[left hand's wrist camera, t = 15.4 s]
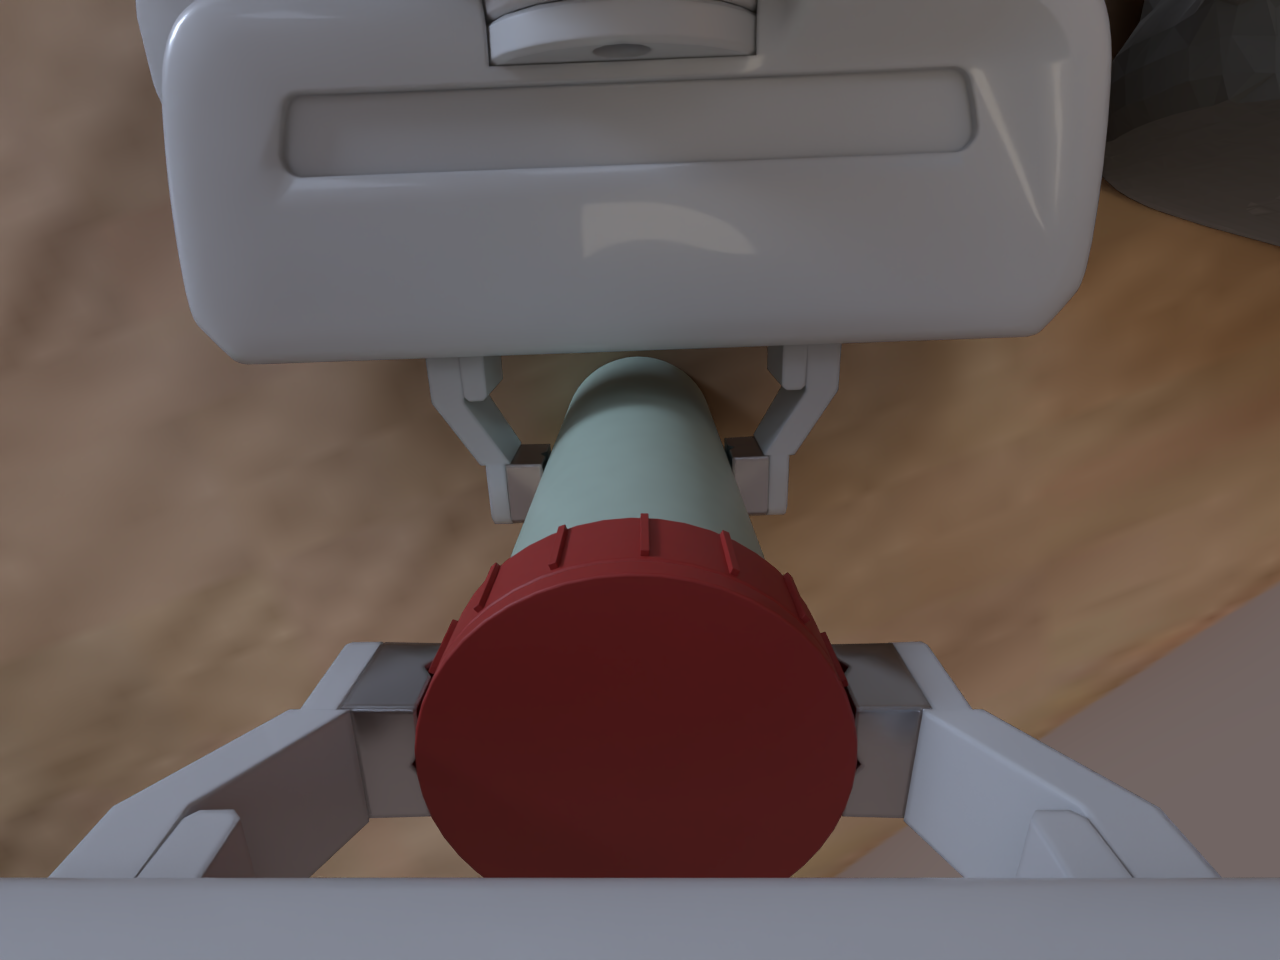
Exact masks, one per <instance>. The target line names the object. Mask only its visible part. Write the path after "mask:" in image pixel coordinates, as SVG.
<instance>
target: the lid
mask: <svg viewBox="0 0 1280 960" xmlns="http://www.w3.org/2000/svg"><path fill="white" fill-rule="evenodd" d="M428 672H429V673H432V674H434V675H433V678H432V680H431V682H430V685H429V687H428V689H427V692H426V694H425V696H424V699H423V701H422V704H421V708H420V712H419V716H418V720H417V725H416V735H415V749H414V750H415V761H416V771H417V777H418V781H419V784H420V788H421V792H422V796H423V798H424V801H425V803H426V805H427V808H428V810H429V812H430V815H431V817H432V819H433V820H434V822H435V824H436V825H437V827H438V828H439V830H440V832H441V833H442V835H443V836H444V838H445V839H446V840H447V842H448V843H449V844H450V845H451V846H452V848H453V849H454V850H455V851H456V852H457V854H458V855H459V856H460V857H461V858H462V859H463V860H464V861H465V862H466V863H468V864H469V865H470V866H471V867H472V868H473V869H474V870H475V871H476V872H477V873H479V874H480V875H481V876H483V877H484V878H789V877H790V876H792V875H793V874H794V873H795V872H797V871H798V870H799V869H800V868H801V867H803V866H804V865H805V864H806V863H807V862H808V861H809V860H810V859H811V858H812V856H813V855H814V854H815V853H816V852H817V851H818V850H819V849H820V848H821V847H822V845H823V844H824V843H825V841H826V840H827V838H828V837H829V836H830V834H831V833H832V832H833V830H834V829H835V827H836V825H837V823H838V821H839V819H840V817H841V816H842V814H843V812H844V810H845V807H846V805H847V802H848V799H849V796H850V793H851V791H852V788H853V783H854V777H855V772H856V766H857V741H858V740H857V733H856V726H855V719H854V715H853V712H852V709H851V705H850V702H849V699H848V696H847V693H846V691H845V689H844V687H846V686H848V681H847V679H846V676H845V674H844V672H843V670H842V668H841V665H840V663H839V661H838V659H837V657H836V654H835V652H834V650H833V648H832V645H831V643H830V641H829V639H828V637H827V634H826V632H823V633H820V632H819V629H818V627H817V625H816V623H815V621H814V619H813V617H812V615H811V613H810V611H809V609H808V607H807V605H806V604H805V602H804V601H803V599H802V598H801V597H800V594H799V592H798V590H797V587H796V585H795V583H794V580H793V578H792V576H791V575H790V574H789V573H786V574H785V575H784V576H783V575H782V574H781V573H780V572H779V571H778V570H777V569H776V568H775V567H773V566H772V565H771V564H770V563H768V562H767V561H766V560H764V559H763V558H762V557H761V556H759V555H758V554H757V553H755V552H753V551H752V550H750V549H748V548H747V547H745V546H743V545H741V544H740V543H738V542H736V541H735V540H732V539H731V537H730V534H729V532H727V531H724V530H722V532H721V533H720V534H718V533H716V532H713V531H711V530H708V529H704V528H701V527H697V526H694V525H690V524H687V523H682V522H676V521H669V520H663V519H653V518H649V514H648V513H641V516H640V518H621V519H610V520H601V521H597V522H592V523H587V524H582V525H578V526H574V527H571V528H569V529H567V527H566V525H562V526H559V527H558V530H557V533H554V534H551V535H549V536H547V537H545V538H543V539H541V540H539V541H537V542H535V543H533V544H531V545H529V546H527V547H526V548H524V549H523V550H521V551H520V552H518V553H517V554H515V555H514V556H512V557H511V558H509V559H508V560H507V561H505V562H504V563H503V564H502V565H501V566H500V565H498V564H497V563H495V564H494V565H493V566H491V568H490V571H489V573H488V575H487V578H486V580H485V581H484V583H483V584H482V585H481V586H480V587H479V589H478V590H477V591H476V592H475V593H474V595H473V596H472V598H471V600H470V601H469V603H468V604H467V606H466V608H465V609H464V611H463V612H462V614H461V617H460V619H459V621H456V620H452V622H451V624H450V626H449V628H448V630H447V633H446V635H445V637H444V639H443V641H442V643H441V645H440V647H439V649H438V652H437V654H436V656H435V658H434V660H433V662H432V664H431V666H430V669H429V671H428Z"/></svg>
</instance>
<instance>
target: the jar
mask: <svg viewBox="0 0 1280 960" xmlns="http://www.w3.org/2000/svg"><path fill="white" fill-rule="evenodd" d="M641 513H648V514H649V518H653V519H663V520H669V521H676V522H682V523H687V524H690V525H694V526H697V527H701V528H704V529H708V530H711V531H713V532H716V533H718V534H720V533H721V532H722V530H724V531H727V532H729V534H730V537H731V539H732V540H735V541H736V542H738V543H740V544H741V545H743V546H745V547H747V548H748V549H750V550H752V551H753V552H755V553H757V554H758V555H759V556H761V557H762V558H763V559H764V560H765V558H764V556H763V553H762V550H761V548H760V545H759V542H758V540H757V537H756V534H755V531H754V529H753V526H752V523H751V521H750V518H749V515H748V513H747V510H746V507H745V504H744V502H743V499H742V496H741V494H740V491H739V488H738V486H737V483H736V480H735V477H734V475H733V472H732V469H731V467H730V464H729V461H728V459H727V456H726V453H725V450H724V448H723V445H722V442H721V440H720V437H719V434H718V432H717V429H716V426H715V423H714V421H713V418H712V415H711V413H710V410H709V407H708V405H707V402H706V399H705V397H704V395H703V394H702V392H701V390H700V389H699V387H698V386H697V384H696V383H695V382H694V381H693V380H692V379H691V378H690V377H689V376H688V375H687V374H686V373H684V372H683V371H682V370H680V369H679V368H677V367H676V366H674V365H672V364H670V363H667V362H665V361H662V360H659V359H655V358H649V357H628V358H623V359H618V360H615V361H613V362H610V363H607V364H606V365H604V366H602V367H600V368H598V369H597V370H596V371H594V372H593V373H591V374H590V375H589V376H588V377H587V378H586V379H585V380H584V381H583V383H582V384H581V385H580V386H579V388H578V389H577V391H576V392H575V394H574V396H573V398H572V401H571V403H570V405H569V408H568V410H567V413H566V416H565V418H564V421H563V423H562V426H561V428H560V431H559V434H558V436H557V439H556V441H555V444H554V447H553V449H552V452H551V454H550V457H549V459H548V462H547V465H546V467H545V470H544V472H543V475H542V477H541V480H540V483H539V485H538V488H537V490H536V493H535V495H534V498H533V501H532V503H531V506H530V508H529V511H528V513H527V516H526V519H525V521H524V524H523V526H522V529H521V531H520V534H519V537H518V539H517V542H516V544H515V547H514V549H513V552H512V555H511V557H512V556H514V555H515V554H517V553H518V552H520V551H521V550H523V549H524V548H526V547H527V546H529V545H531V544H533V543H535V542H537V541H539V540H541V539H543V538H545V537H547V536H549V535H551V534H554V533H557V530H558V527H559V526H562V525H566V527H567V529H569V528H571V527H574V526H578V525H582V524H587V523H592V522H597V521H601V520H610V519H621V518H640V516H641ZM511 557H510V558H511Z"/></svg>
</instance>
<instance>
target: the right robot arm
mask: <svg viewBox="0 0 1280 960" xmlns="http://www.w3.org/2000/svg"><path fill="white" fill-rule="evenodd" d="M136 11H137V19H138V23H139V27H140V31H141V35H142V39H143V43H144V47H145V51H146V56H147V60H148V64H149V68H150V72H151V76H152V80H153V84H154V86H155V89H156V92H157V94H158V96H159V99H160V101H161V103H162V116H163V129H164V142H165V154H166V165H167V175H168V184H169V192H170V199H171V207H172V214H173V222H174V229H175V235H176V241H177V248H178V254H179V260H180V265H181V270H182V276H183V281H184V286H185V291H186V295H187V299H188V303H189V307H190V310H191V313H192V316H193V318H194V320H195V322H196V323H197V325H198V326H199V327H200V328H201V329H202V330H203V331H204V332H205V333H206V334H207V335H208V336H209V337H210V338H211V339H212V340H213V341H214V342H215V343H216V344H217V345H218V346H219V347H220V348H221V349H222V350H223V351H224V352H225V353H226V354H227V355H229V356H230V357H231V358H232V359H233V360H235V361H236V362H238V363H242V364H281V363H309V362H337V361H365V360H392V359H420V358H425V359H426V366H427V373H428V380H429V387H430V394H431V401H432V404H433V406H434V407H435V408H436V409H437V411H438V412H439V413H440V414H441V416H442V417H443V418H444V420H445V421H446V422H447V423H448V425H449V426H450V427H451V428H452V430H453V431H454V432H455V434H456V435H457V436H458V437H459V439H460V440H461V441H462V442H463V444H464V445H465V446H466V448H467V449H468V450H469V451H470V453H471V454H472V455H473V456H474V458H475V459H476V460H477V462H478V463H479V464H480V465H485V466H486V474H487V482H488V490H489V498H490V506H491V514H492V519H493V521H494V523H495V524H513V523H524V521H525V519H526V516H527V513H528V511H529V508H530V506H531V503H532V501H533V498H534V495H535V493H536V490H537V488H538V485H539V483H540V480H541V477H542V475H543V472H544V470H545V467H546V465H547V462H548V459H549V457H550V454H551V447H550V444H521V441H520V440H519V438H518V437H517V435H516V434H515V433H514V431H513V430H512V428H511V427H510V425H509V424H508V422H507V421H506V419H505V418H504V416H503V415H502V413H501V412H500V410H499V409H498V407H497V406H496V405H495V403H494V402H493V400H492V399H491V397H490V396H489V394H490V393H491V392H492V390H493V389H494V388H495V387H496V386H497V385H498V384H499V383H500V381H501V380H502V379H503V373H502V362H501V356H504V355H532V354H560V353H588V352H615V351H643V350H671V349H699V348H727V347H755V346H768V355H767V369H768V370H769V372H770V373H771V374H772V375H773V376H774V377H775V379H776V380H777V381H778V382H779V383H780V384H781V388H780V390H779V391H778V393H777V395H776V397H775V398H774V400H773V402H772V403H771V405H770V407H769V409H768V410H767V412H766V414H765V415H764V417H763V419H762V421H761V422H760V424H759V426H758V427H757V429H756V431H755V433H754V434H753V435H754V436H751V437H733V438H725V444H724V450H725V453H726V456H727V459H728V461H729V464H730V467H731V469H732V472H733V475H734V477H735V480H736V483H737V486H738V488H739V491H740V494H741V496H742V499H743V502H744V504H745V507H746V510H747V513H748V515H749V516H750V515H782V514H785V513H786V509H787V499H788V476H789V455H795V453H796V452H797V450H798V449H799V447H800V446H801V444H802V443H803V441H804V440H805V438H806V437H807V435H808V434H809V432H810V431H811V429H812V428H813V426H814V425H815V423H816V422H817V420H818V419H819V418H820V416H821V415H822V413H823V412H824V410H825V409H826V407H827V406H828V404H829V403H830V401H831V400H832V398H833V397H834V395H835V394H836V392H837V391H838V385H839V371H840V357H841V343H866V342H894V341H922V340H950V339H978V338H1006V337H1028V336H1031V335H1035V334H1037V333H1038V332H1040V331H1041V330H1042V329H1043V328H1044V327H1045V326H1046V325H1047V324H1048V323H1049V322H1050V321H1051V320H1052V319H1053V318H1054V317H1055V316H1056V315H1057V314H1058V313H1059V312H1060V310H1061V309H1062V308H1063V307H1064V306H1065V305H1066V304H1067V302H1068V301H1069V300H1070V299H1071V298H1072V297H1073V295H1074V294H1075V293H1076V292H1077V290H1078V288H1079V287H1080V285H1081V282H1082V280H1083V277H1084V274H1085V271H1086V267H1087V263H1088V258H1089V253H1090V249H1091V244H1092V239H1093V232H1094V226H1095V220H1096V214H1097V208H1098V201H1099V195H1100V187H1101V180H1102V172H1103V164H1104V155H1105V145H1106V136H1107V126H1108V114H1109V100H1110V86H1111V64H1112V49H1111V32H1110V22H1109V17H1108V12H1107V7H1106V4H1105V1H1104V0H136Z"/></svg>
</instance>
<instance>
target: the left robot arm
mask: <svg viewBox="0 0 1280 960" xmlns="http://www.w3.org/2000/svg"><path fill="white" fill-rule="evenodd" d="M440 645H441V643H404V642H385V643H383V642H352V643H349V644H346V646H345V647H344V648H343V649H342V651H341V652H340V654H339V655H338V656H337V658H336V659H335V661H334V662H333V663H332V665H331V666H330V668H329V669H328V670H327V672H326V673H325V675H324V676H323V678H322V679H321V680H320V682H319V683H318V685H317V686H316V687H315V689H314V690H313V692H312V693H311V695H310V696H309V697H308V699H307V700H306V702H305V703H304V704H303V706H302V707H301V709H289V710H288V711H286V712H284V713H282V714H280V715H279V716H277V717H275V718H273V719H271V720H269V721H268V722H266V723H264V724H262V725H260V726H259V727H257V728H255V729H253V730H251V731H249V732H248V733H246V734H244V735H242V736H240V737H239V738H237V739H235V740H233V741H231V742H229V743H228V744H226V745H224V746H222V747H220V748H218V749H217V750H215V751H213V752H211V753H209V754H208V755H206V756H204V757H202V758H200V759H198V760H197V761H195V762H193V763H191V764H189V765H188V766H186V767H184V768H182V769H180V770H178V771H177V772H175V773H173V774H171V775H169V776H167V777H166V778H164V779H162V780H160V781H158V782H157V783H155V784H153V785H151V786H149V787H147V788H146V789H144V790H142V791H140V792H138V793H137V794H135V795H133V796H131V797H129V798H127V799H126V800H124V801H122V802H120V803H118V804H117V805H115V806H113V807H112V808H111V809H110V810H109V811H108V812H107V813H106V814H105V816H104V817H103V818H102V819H101V820H100V821H99V822H98V823H97V824H96V825H95V826H94V828H93V829H92V830H91V831H90V832H89V833H88V834H87V835H86V836H85V837H84V839H83V840H82V841H81V842H80V843H79V844H78V845H77V846H76V847H75V848H74V850H73V851H72V852H71V853H70V854H69V855H68V856H67V857H66V858H65V859H64V861H63V862H62V863H61V864H60V865H59V866H58V867H57V868H56V869H55V870H54V872H53V873H52V874H51V875H50V876H49V877H48V878H0V960H1280V878H1222V877H1221V876H1220V875H1219V874H1218V873H1217V872H1216V871H1215V869H1214V868H1213V867H1212V866H1211V865H1210V864H1209V863H1208V861H1207V860H1206V859H1205V858H1204V857H1203V856H1202V855H1201V854H1200V852H1199V851H1198V850H1197V849H1196V848H1195V847H1194V846H1193V845H1192V843H1191V842H1190V841H1189V840H1188V839H1187V838H1186V837H1185V836H1184V834H1183V833H1182V832H1181V831H1180V830H1179V829H1178V828H1177V827H1176V826H1175V824H1174V823H1173V822H1172V821H1171V820H1170V819H1169V818H1168V816H1167V815H1166V814H1165V813H1164V812H1163V811H1162V810H1161V809H1160V808H1159V807H1157V806H1156V805H1154V804H1152V803H1150V802H1148V801H1147V800H1145V799H1143V798H1141V797H1140V796H1138V795H1136V794H1134V793H1132V792H1131V791H1129V790H1127V789H1125V788H1123V787H1122V786H1120V785H1118V784H1116V783H1114V782H1113V781H1111V780H1109V779H1107V778H1105V777H1104V776H1102V775H1100V774H1098V773H1096V772H1095V771H1093V770H1091V769H1089V768H1087V767H1086V766H1084V765H1082V764H1080V763H1078V762H1077V761H1075V760H1073V759H1071V758H1069V757H1068V756H1066V755H1064V754H1062V753H1060V752H1059V751H1057V750H1055V749H1053V748H1051V747H1050V746H1048V745H1046V744H1044V743H1042V742H1041V741H1039V740H1037V739H1035V738H1033V737H1032V736H1030V735H1028V734H1026V733H1024V732H1023V731H1021V730H1019V729H1017V728H1015V727H1014V726H1012V725H1010V724H1008V723H1006V722H1005V721H1003V720H1001V719H999V718H997V717H996V716H994V715H992V714H990V713H989V712H987V711H985V710H983V709H972V708H971V706H970V705H969V703H968V702H967V701H966V699H965V698H964V696H963V695H962V693H961V692H960V691H959V689H958V688H957V686H956V685H955V683H954V682H953V681H952V679H951V678H950V676H949V675H948V673H947V672H946V671H945V669H944V668H943V666H942V665H941V663H940V662H939V661H938V659H937V658H936V656H935V655H934V653H933V652H932V651H931V649H930V648H929V646H928V645H927V644H925V643H923V642H893V643H869V644H831V645H832V648H833V650H834V652H835V654H836V657H837V659H838V661H839V663H840V665H841V668H842V670H843V672H844V674H845V676H846V679H847V681H848V686H846V687H844V689H845V691H846V693H847V696H848V699H849V702H850V705H851V709H852V712H853V715H854V719H855V726H856V733H857V740H858V741H857V766H856V772H855V777H854V783H853V788H852V791H851V793H850V796H849V799H848V802H847V805H846V807H845V810H844V812H843V814H842V816H850V817H885V818H904V822H905V823H906V824H908V825H909V826H910V827H911V828H912V829H913V830H914V831H915V832H916V833H917V834H918V835H919V836H920V837H921V838H922V839H923V840H924V841H926V842H927V843H928V844H929V845H930V846H931V847H932V848H933V849H934V850H935V851H936V852H937V853H938V854H939V855H940V856H941V857H942V858H943V859H945V860H946V861H947V862H948V863H949V864H950V865H951V866H952V867H953V868H954V869H955V870H956V871H957V872H958V873H959V874H960V875H962V876H963V877H964V878H309V877H310V876H311V875H312V874H313V873H315V872H316V871H317V870H318V869H319V868H320V867H321V866H322V865H323V864H324V863H325V862H326V861H327V860H328V859H330V858H331V857H332V856H333V855H334V854H335V853H336V852H337V851H338V850H339V849H340V848H341V847H342V846H343V845H345V844H346V843H347V842H348V841H349V840H350V839H351V838H352V837H353V836H354V835H355V834H356V833H357V832H358V831H360V830H361V829H362V828H363V827H364V826H365V825H366V824H367V823H368V822H369V818H387V817H421V816H431V815H430V812H429V810H428V808H427V805H426V803H425V801H424V798H423V796H422V792H421V788H420V784H419V781H418V777H417V771H416V761H415V750H414V749H415V735H416V725H417V720H418V716H419V712H420V708H421V704H422V701H423V699H424V696H425V694H426V692H427V689H428V687H429V685H430V682H431V680H432V678H433V675H434V674H432V673H429V672H428V671H429V669H430V666H431V664H432V662H433V660H434V658H435V656H436V654H437V652H438V649H439V647H440Z"/></svg>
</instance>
